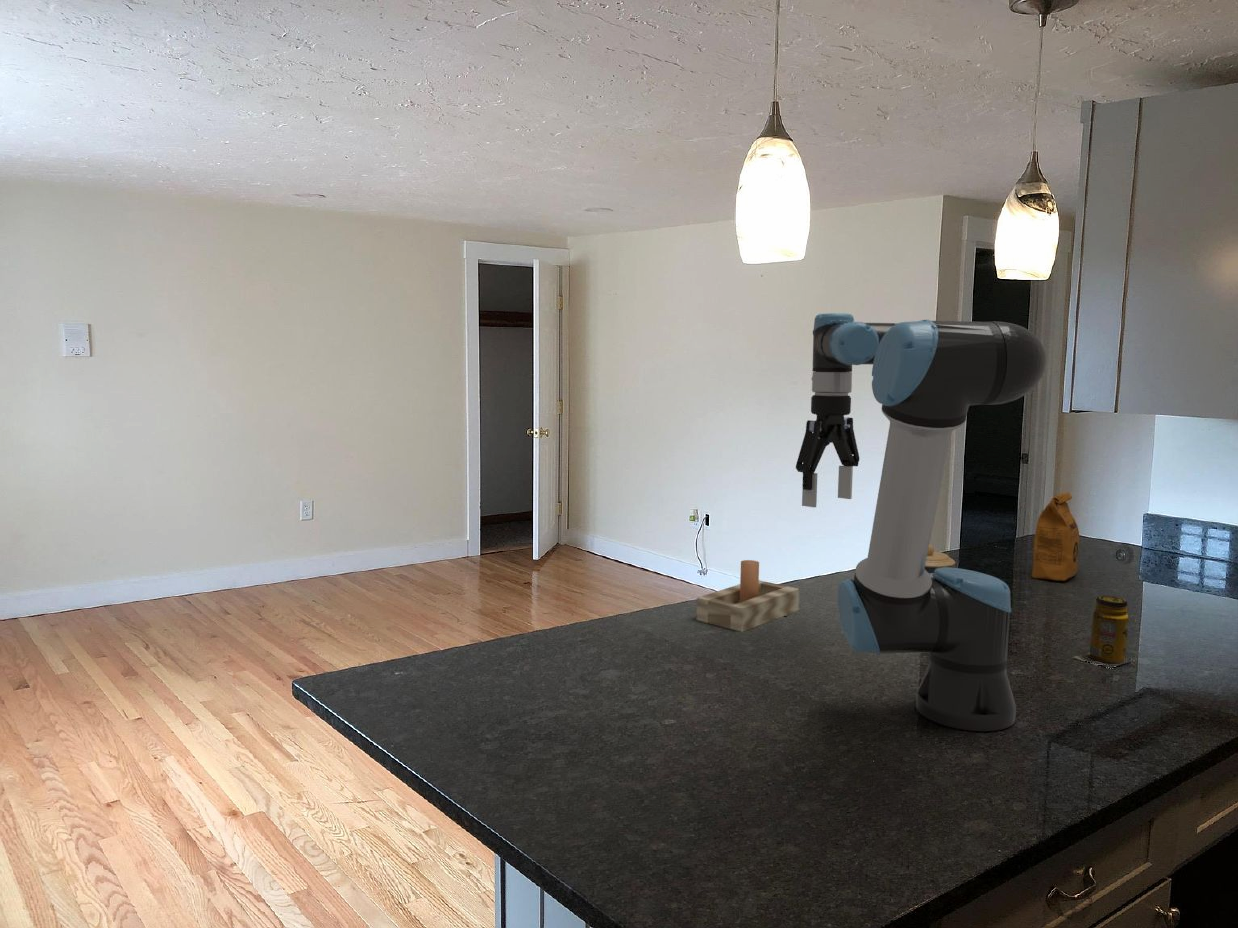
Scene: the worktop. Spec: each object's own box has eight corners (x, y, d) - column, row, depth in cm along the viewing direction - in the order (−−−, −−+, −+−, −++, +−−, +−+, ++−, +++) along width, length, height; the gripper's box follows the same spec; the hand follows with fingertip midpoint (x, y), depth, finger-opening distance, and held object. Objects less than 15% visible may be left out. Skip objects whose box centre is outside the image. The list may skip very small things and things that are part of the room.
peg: (751, 618, 199) (752, 565, 197) (735, 615, 202) (737, 562, 200) (761, 615, 202) (762, 562, 200) (746, 611, 205) (747, 559, 203)
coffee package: (1083, 577, 238) (1089, 494, 235) (1065, 585, 229) (1071, 499, 227) (1044, 570, 245) (1050, 489, 242) (1025, 577, 237) (1031, 494, 234)
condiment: (1134, 661, 173) (1139, 600, 172) (1110, 670, 169) (1115, 607, 167) (1097, 651, 179) (1101, 591, 178) (1073, 658, 175) (1077, 597, 173)
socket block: (742, 631, 190) (742, 608, 189) (696, 619, 198) (697, 597, 197) (798, 610, 206) (799, 588, 205) (754, 600, 214) (754, 579, 213)
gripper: (845, 391, 188) (842, 493, 191) (779, 395, 170) (776, 507, 172) (879, 392, 183) (875, 497, 185) (814, 397, 165) (810, 512, 167)
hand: (827, 502), depth 179 cm, fingers open, 13 cm apart
